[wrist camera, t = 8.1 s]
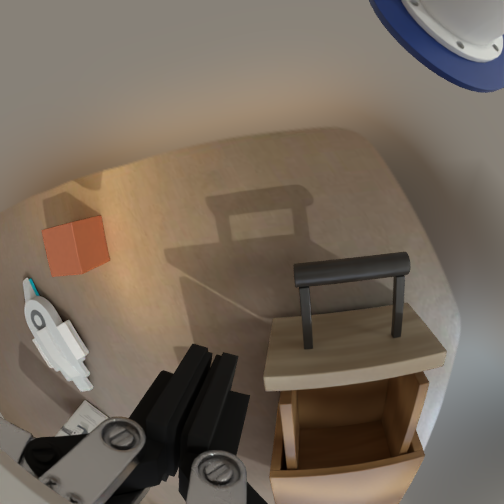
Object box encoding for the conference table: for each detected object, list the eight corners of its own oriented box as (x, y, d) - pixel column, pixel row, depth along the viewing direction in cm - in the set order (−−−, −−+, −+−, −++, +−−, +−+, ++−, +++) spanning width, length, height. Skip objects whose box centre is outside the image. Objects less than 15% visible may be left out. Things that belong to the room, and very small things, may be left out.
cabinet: (278, 401, 26) (269, 477, 17) (398, 387, 24) (425, 455, 15) (287, 472, 29) (281, 529, 20) (379, 462, 27) (390, 517, 18)
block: (101, 215, 24) (71, 222, 20) (110, 260, 25) (82, 274, 21) (70, 222, 25) (41, 230, 20) (79, 264, 26) (51, 277, 21)
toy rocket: (113, 380, 29) (104, 390, 27) (73, 388, 31) (65, 397, 29) (45, 262, 26) (32, 267, 24) (15, 289, 29) (4, 295, 26)
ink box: (103, 440, 33) (69, 488, 22) (78, 421, 33) (41, 466, 22) (113, 419, 31) (72, 475, 20) (85, 397, 31) (39, 449, 20)
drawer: (264, 249, 22) (248, 285, 14) (408, 234, 20) (459, 260, 12) (285, 427, 26) (280, 486, 18) (391, 414, 24) (407, 469, 16)
